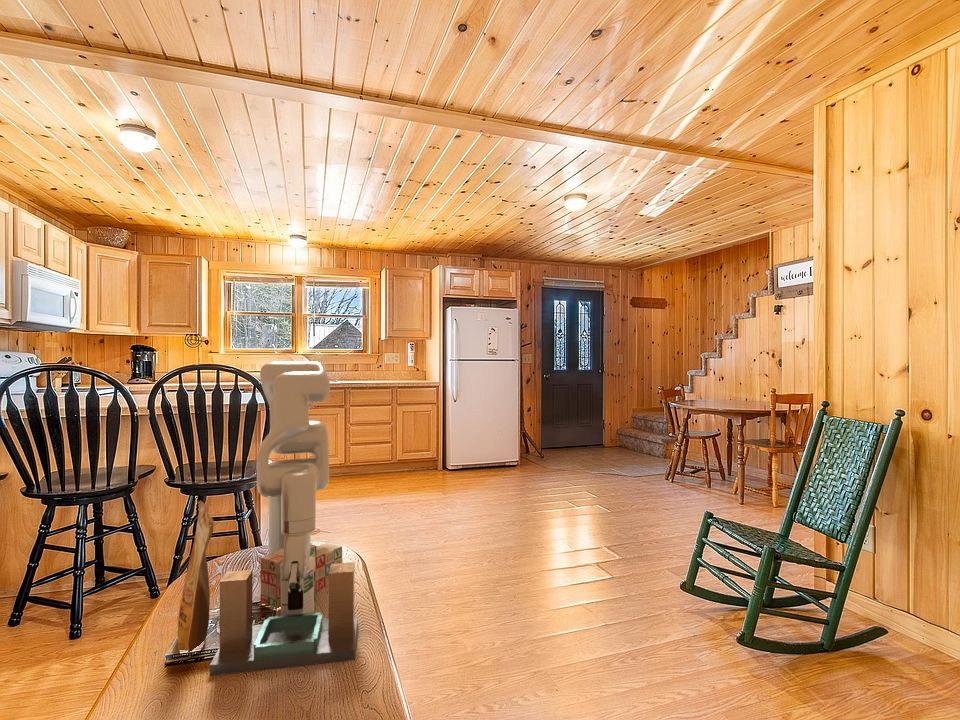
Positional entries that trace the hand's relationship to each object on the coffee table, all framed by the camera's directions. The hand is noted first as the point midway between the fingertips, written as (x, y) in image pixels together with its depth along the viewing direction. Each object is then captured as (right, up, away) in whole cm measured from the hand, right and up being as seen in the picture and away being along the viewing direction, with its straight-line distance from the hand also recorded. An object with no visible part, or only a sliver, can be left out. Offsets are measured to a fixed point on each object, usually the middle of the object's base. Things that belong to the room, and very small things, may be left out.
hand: (298, 600), depth 117 cm
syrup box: (0, -5, 0) cm, 5 cm away
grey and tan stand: (+2, -5, -11) cm, 12 cm away
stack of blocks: (-4, -5, +15) cm, 16 cm away
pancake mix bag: (-20, -5, -7) cm, 22 cm away
